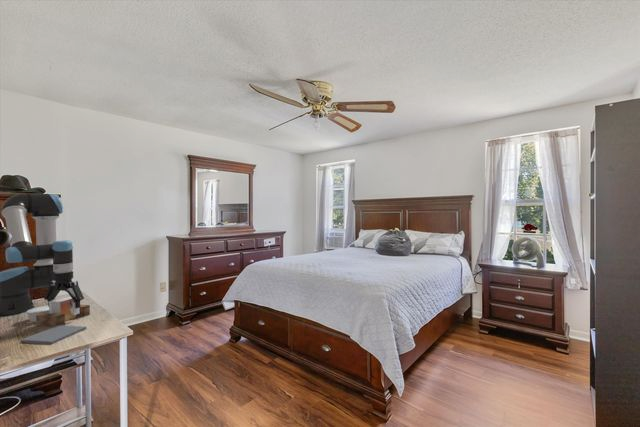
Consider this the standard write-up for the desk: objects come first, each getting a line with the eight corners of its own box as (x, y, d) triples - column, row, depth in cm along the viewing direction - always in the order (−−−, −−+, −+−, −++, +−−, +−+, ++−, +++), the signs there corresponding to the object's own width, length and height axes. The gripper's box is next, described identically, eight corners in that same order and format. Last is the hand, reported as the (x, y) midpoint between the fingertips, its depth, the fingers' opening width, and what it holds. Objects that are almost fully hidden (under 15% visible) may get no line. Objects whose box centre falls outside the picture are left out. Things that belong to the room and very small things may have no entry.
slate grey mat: (21, 342, 121) (21, 339, 121) (58, 327, 136) (58, 325, 136) (52, 344, 119) (52, 341, 119) (86, 328, 134) (86, 326, 134)
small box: (60, 323, 141) (59, 301, 140) (51, 322, 142) (50, 301, 142) (77, 317, 148) (76, 296, 148) (68, 316, 150) (68, 296, 149)
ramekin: (59, 317, 148) (59, 307, 148) (29, 325, 139) (29, 314, 139) (54, 313, 155) (53, 303, 155) (24, 320, 146) (24, 309, 146)
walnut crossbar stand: (36, 325, 138) (36, 315, 138) (70, 313, 154) (69, 304, 154) (58, 326, 136) (58, 316, 136) (89, 314, 152) (89, 305, 152)
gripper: (33, 272, 143) (34, 315, 143) (77, 273, 139) (79, 317, 140) (49, 269, 150) (51, 310, 150) (92, 270, 147) (93, 312, 147)
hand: (64, 313), depth 145 cm, fingers open, 13 cm apart
